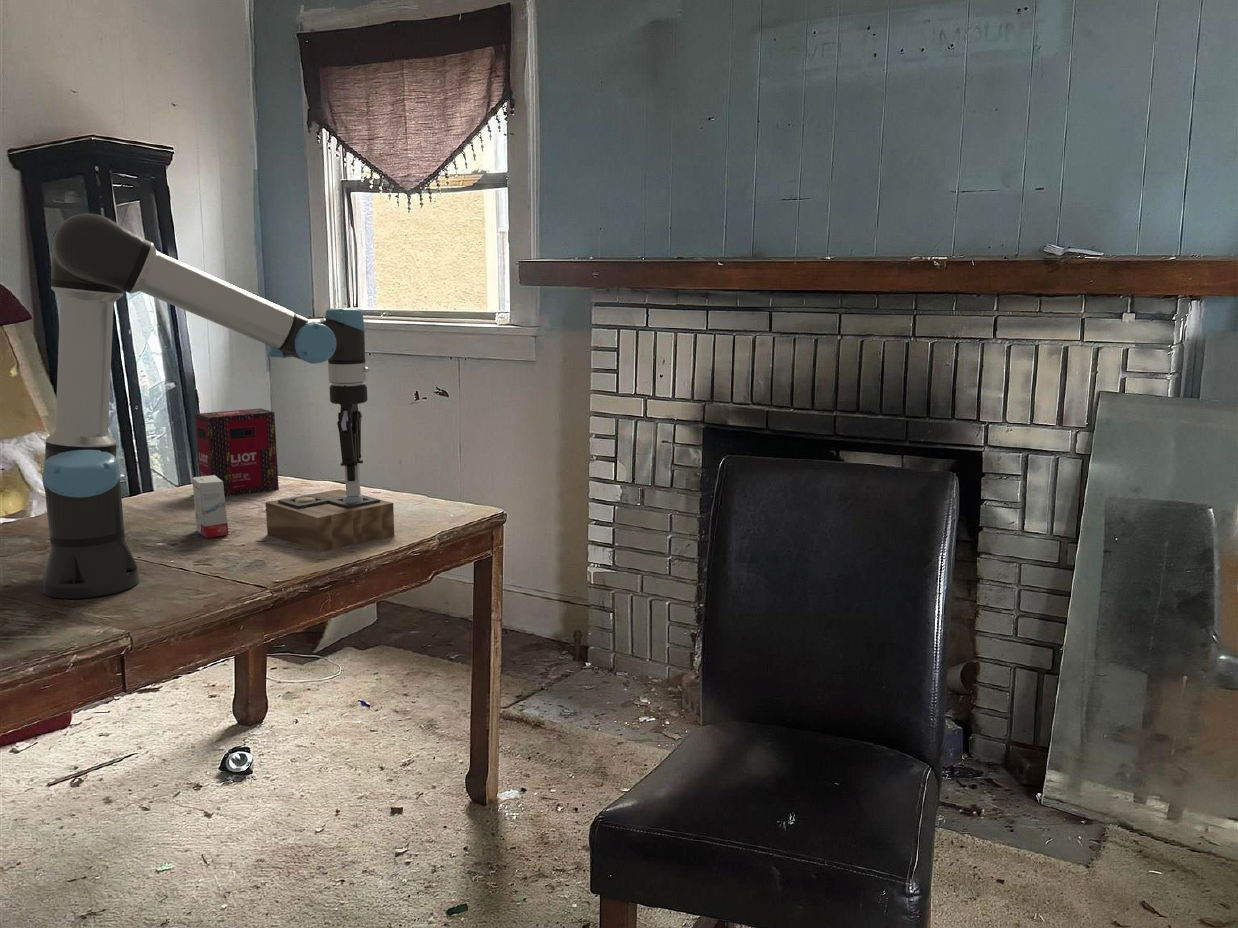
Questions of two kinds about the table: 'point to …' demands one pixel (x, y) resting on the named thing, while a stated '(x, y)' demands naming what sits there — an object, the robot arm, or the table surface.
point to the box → (238, 449)
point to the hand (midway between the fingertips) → (353, 495)
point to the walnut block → (329, 520)
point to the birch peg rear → (305, 500)
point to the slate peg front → (352, 499)
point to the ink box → (210, 506)
